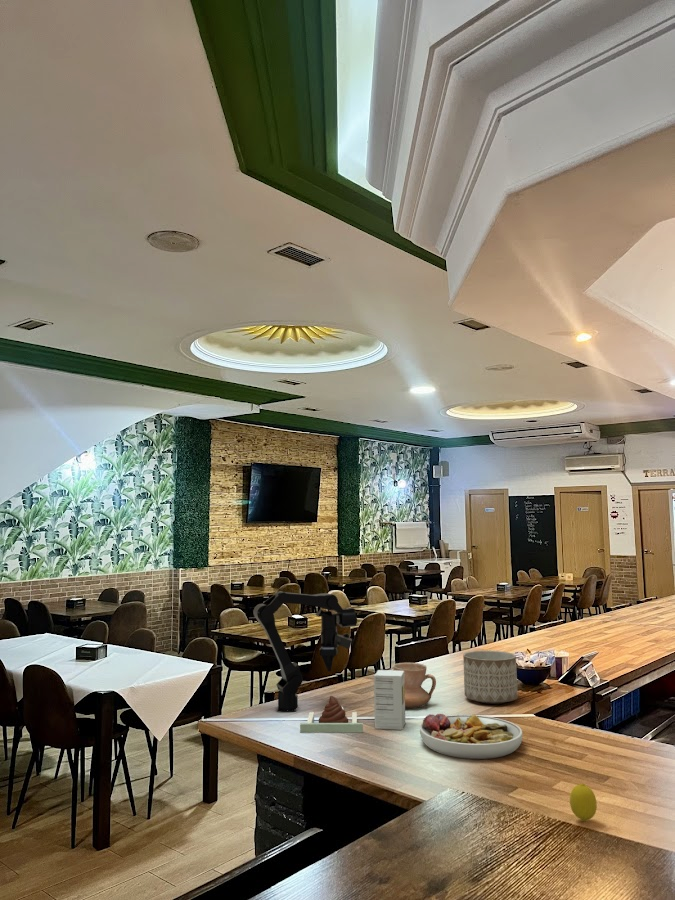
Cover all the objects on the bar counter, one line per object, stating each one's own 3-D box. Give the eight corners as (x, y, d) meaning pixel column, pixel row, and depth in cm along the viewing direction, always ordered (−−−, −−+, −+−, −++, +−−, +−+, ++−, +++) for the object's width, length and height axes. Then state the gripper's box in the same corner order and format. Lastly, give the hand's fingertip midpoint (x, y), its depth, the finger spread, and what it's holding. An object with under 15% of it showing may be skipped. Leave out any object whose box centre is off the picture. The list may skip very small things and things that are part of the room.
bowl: (526, 735, 211) (525, 709, 212) (518, 768, 183) (517, 737, 184) (431, 727, 221) (430, 702, 222) (409, 756, 193) (409, 728, 194)
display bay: (300, 732, 216) (300, 724, 216) (303, 719, 230) (303, 712, 230) (363, 732, 215) (362, 724, 215) (362, 719, 229) (362, 711, 230)
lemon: (566, 817, 151) (564, 779, 152) (590, 815, 151) (588, 778, 152) (577, 827, 146) (575, 788, 146) (602, 826, 146) (600, 787, 147)
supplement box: (402, 730, 217) (401, 676, 218) (374, 729, 218) (373, 675, 220) (405, 722, 226) (404, 670, 228) (378, 720, 228) (377, 669, 230)
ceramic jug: (386, 710, 240) (386, 669, 242) (386, 699, 255) (386, 661, 256) (437, 712, 239) (437, 670, 240) (434, 701, 253) (434, 662, 255)
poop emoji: (315, 727, 221) (314, 698, 222) (323, 720, 229) (322, 692, 230) (344, 730, 218) (344, 700, 219) (351, 722, 226) (351, 693, 227)
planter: (499, 692, 265) (498, 649, 267) (528, 704, 247) (526, 657, 249) (455, 696, 259) (454, 652, 261) (481, 709, 241) (479, 661, 243)
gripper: (350, 631, 242) (351, 676, 240) (350, 624, 261) (351, 666, 259) (319, 632, 243) (319, 677, 241) (322, 624, 261) (322, 666, 259)
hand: (329, 671), depth 250 cm, fingers closed
